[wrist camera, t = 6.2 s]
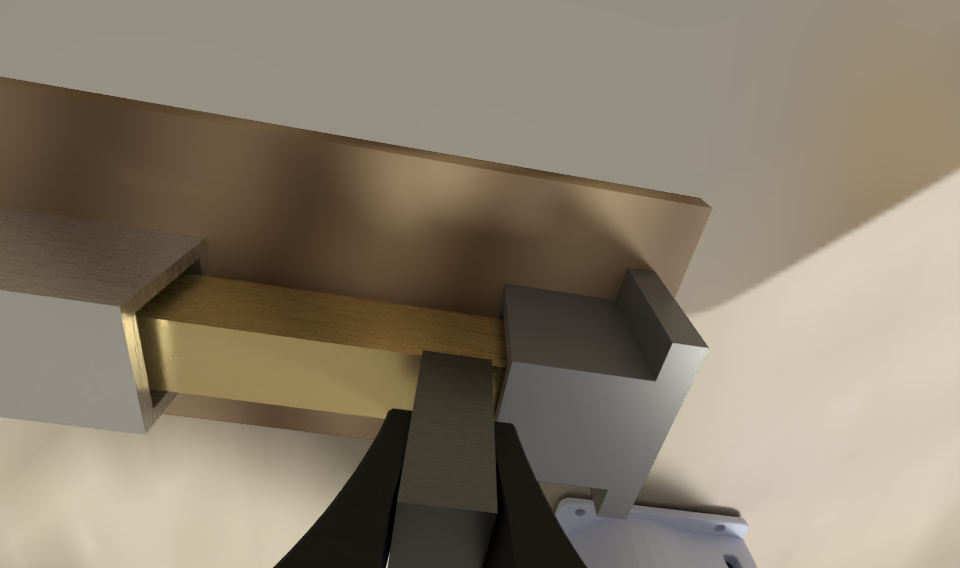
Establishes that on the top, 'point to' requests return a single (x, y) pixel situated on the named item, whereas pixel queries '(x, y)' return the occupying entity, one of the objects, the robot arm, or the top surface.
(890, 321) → the top surface
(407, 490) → the inner sliding bolt
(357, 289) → the base board
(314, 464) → the top surface
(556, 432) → the socket
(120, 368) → the sleeve
